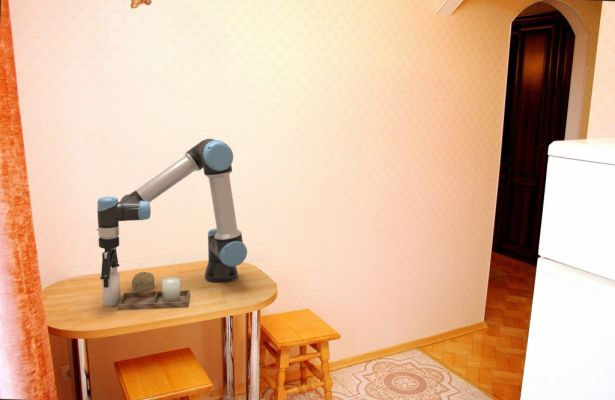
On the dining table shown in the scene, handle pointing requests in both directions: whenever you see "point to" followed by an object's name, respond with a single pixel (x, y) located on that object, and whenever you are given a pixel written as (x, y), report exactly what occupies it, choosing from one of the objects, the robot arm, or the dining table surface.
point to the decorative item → (143, 282)
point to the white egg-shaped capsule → (171, 289)
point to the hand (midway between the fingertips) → (110, 288)
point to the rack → (151, 300)
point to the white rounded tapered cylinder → (113, 290)
